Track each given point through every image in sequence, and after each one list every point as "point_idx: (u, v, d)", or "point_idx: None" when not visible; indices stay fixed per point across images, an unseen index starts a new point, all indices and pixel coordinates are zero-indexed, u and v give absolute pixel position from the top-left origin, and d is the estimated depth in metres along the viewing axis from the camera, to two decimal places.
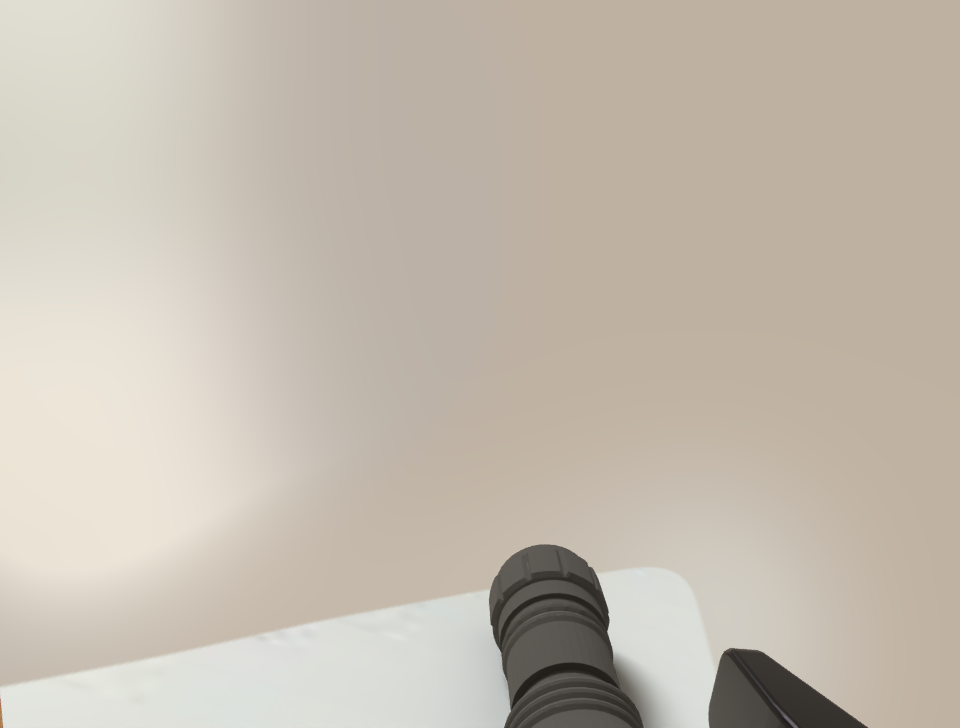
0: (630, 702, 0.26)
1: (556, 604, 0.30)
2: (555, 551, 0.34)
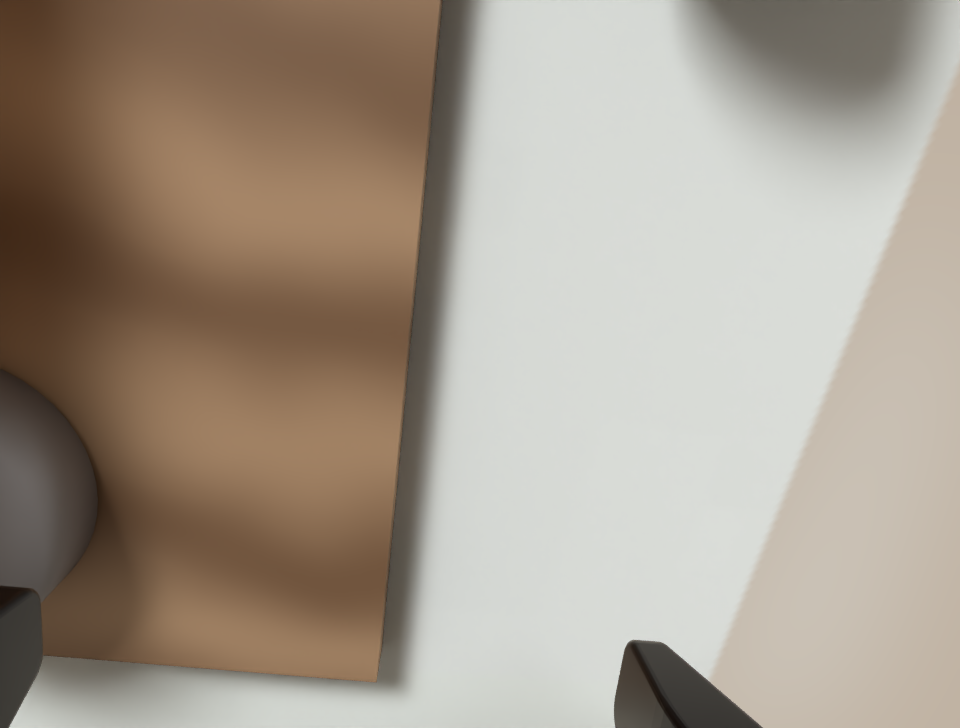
0: None
1: None
2: None
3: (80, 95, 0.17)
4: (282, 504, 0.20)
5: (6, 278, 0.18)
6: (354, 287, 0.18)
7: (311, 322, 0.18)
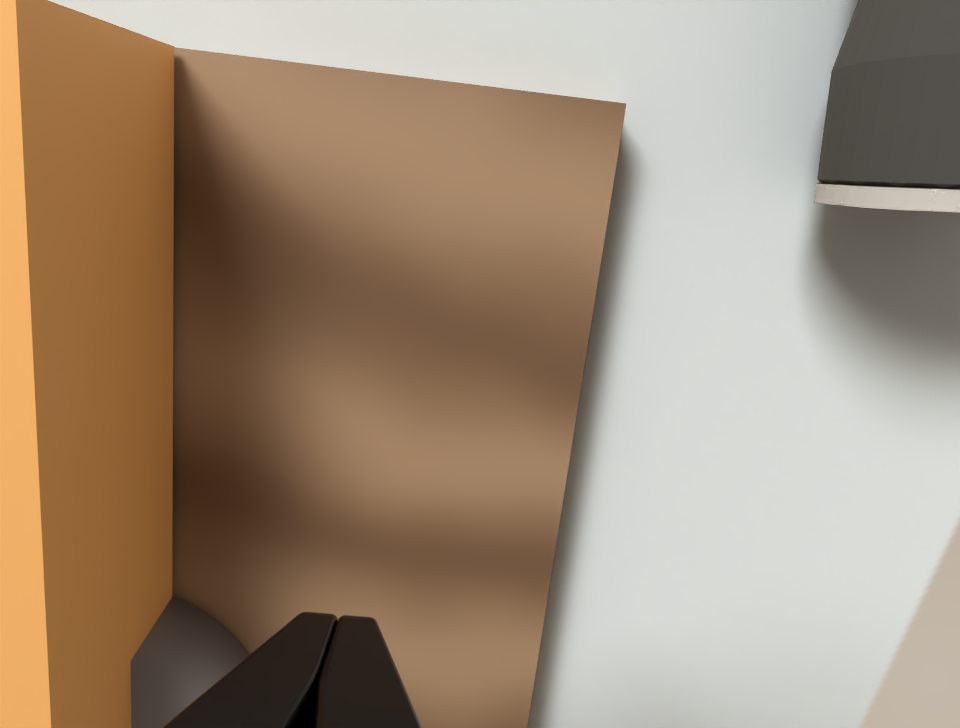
0: None
1: None
2: None
3: (268, 371, 0.18)
4: (428, 709, 0.21)
5: (190, 522, 0.20)
6: (505, 527, 0.20)
7: (465, 556, 0.20)
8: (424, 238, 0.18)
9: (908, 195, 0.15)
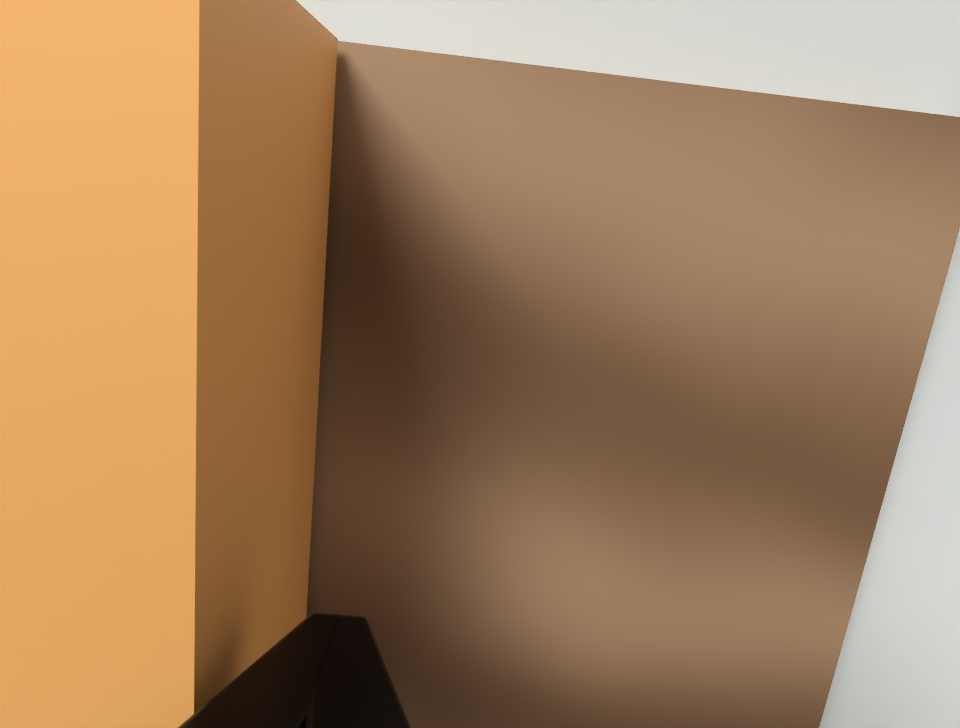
0: None
1: None
2: None
3: (444, 498, 0.13)
4: None
5: None
6: (755, 699, 0.14)
7: None
8: (678, 314, 0.12)
9: None
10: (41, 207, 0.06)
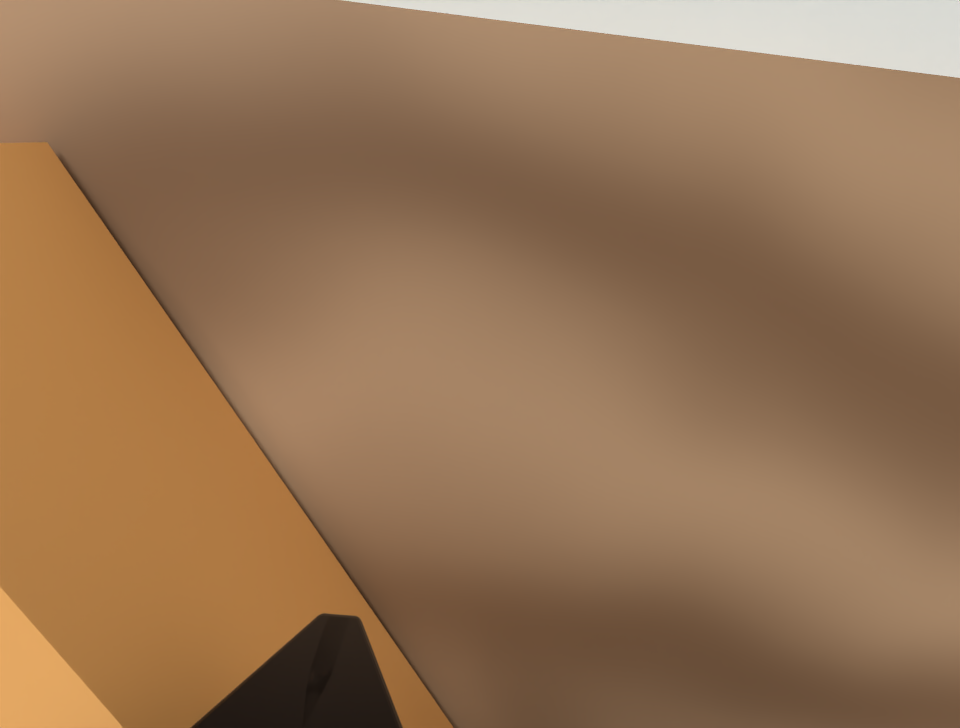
0: None
1: None
2: None
3: (761, 489, 0.14)
4: None
5: (621, 683, 0.15)
6: None
7: None
8: None
9: None
10: None
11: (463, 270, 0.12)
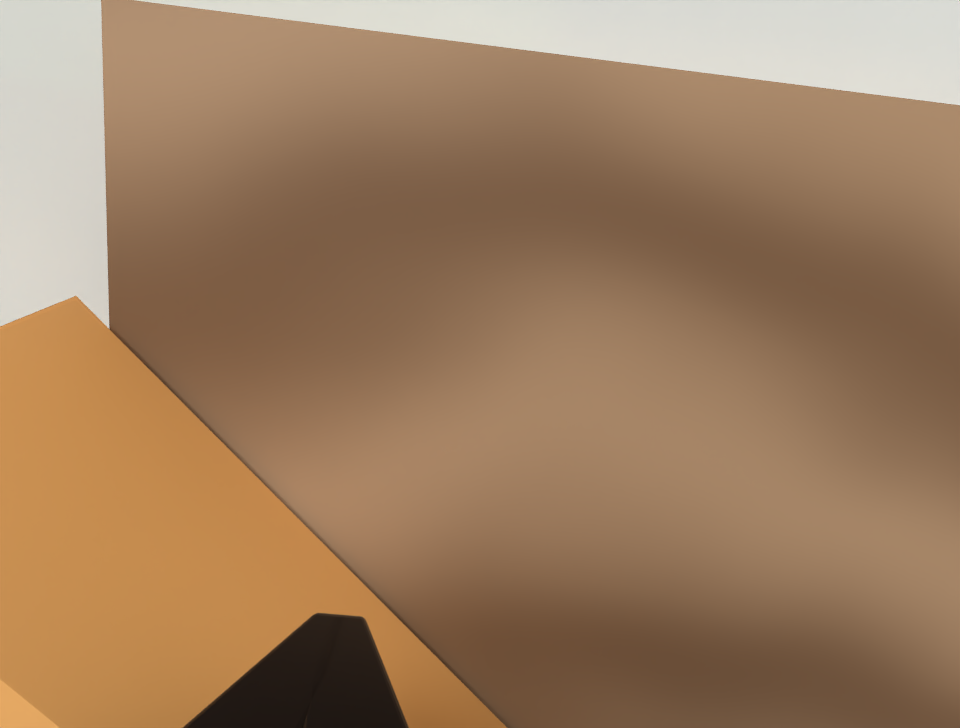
0: None
1: None
2: None
3: (915, 528, 0.14)
4: None
5: (763, 717, 0.15)
6: None
7: None
8: None
9: None
10: None
11: (639, 311, 0.12)
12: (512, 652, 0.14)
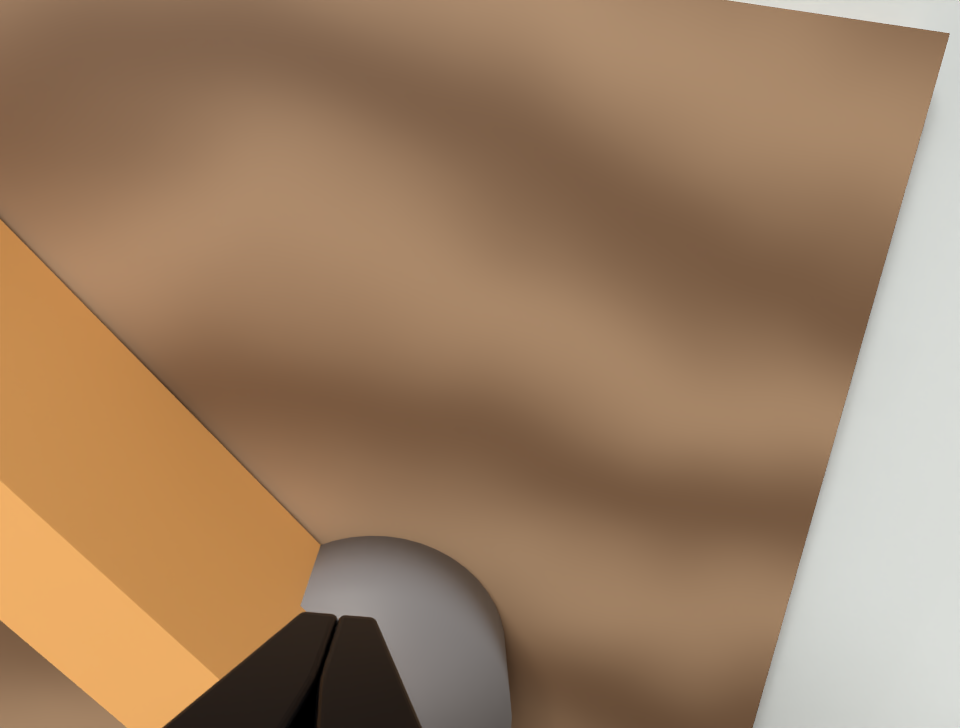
0: None
1: None
2: None
3: (548, 311, 0.18)
4: (668, 663, 0.21)
5: (449, 468, 0.19)
6: (769, 477, 0.19)
7: (724, 507, 0.20)
8: (724, 172, 0.17)
9: None
10: None
11: (315, 128, 0.16)
12: (246, 406, 0.18)
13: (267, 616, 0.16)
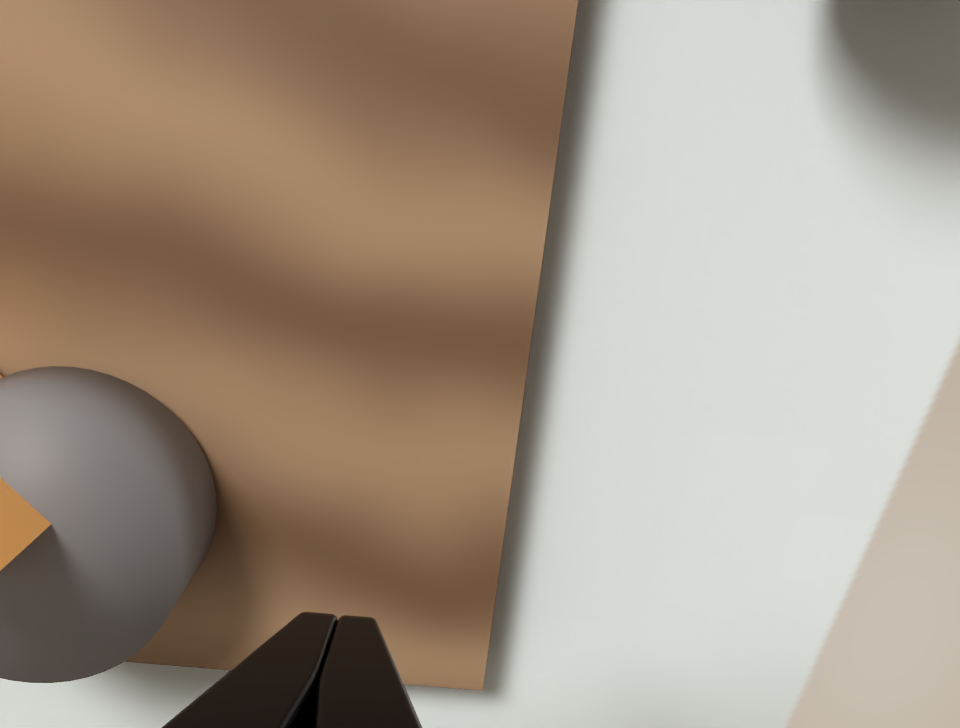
0: None
1: None
2: None
3: (216, 111, 0.17)
4: (397, 514, 0.20)
5: (134, 291, 0.18)
6: (478, 300, 0.18)
7: (434, 335, 0.18)
8: None
9: None
10: None
11: None
12: None
13: None
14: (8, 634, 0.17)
